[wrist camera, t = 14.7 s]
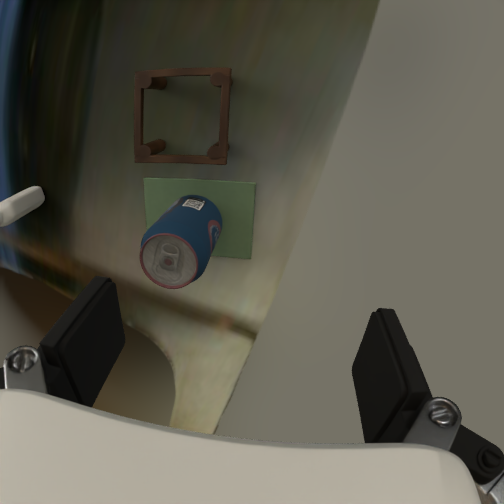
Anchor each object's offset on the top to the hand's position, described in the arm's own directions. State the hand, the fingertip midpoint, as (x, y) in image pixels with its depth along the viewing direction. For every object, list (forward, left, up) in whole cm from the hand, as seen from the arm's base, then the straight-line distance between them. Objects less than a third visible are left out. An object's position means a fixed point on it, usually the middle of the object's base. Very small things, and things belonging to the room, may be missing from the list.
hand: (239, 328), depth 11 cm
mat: (-8, -7, -29) cm, 31 cm away
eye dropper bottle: (-35, -5, -29) cm, 46 cm away
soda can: (-8, -7, -29) cm, 31 cm away
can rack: (-9, +6, -29) cm, 31 cm away
